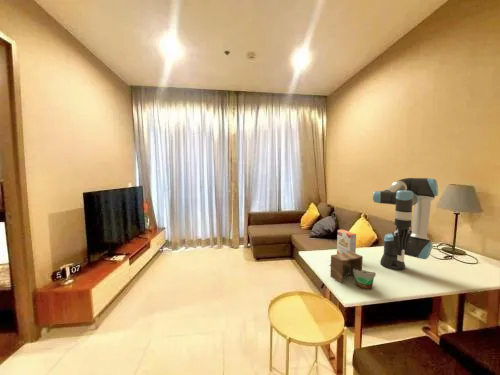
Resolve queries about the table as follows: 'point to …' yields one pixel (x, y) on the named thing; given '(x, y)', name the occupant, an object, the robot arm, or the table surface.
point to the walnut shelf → (345, 264)
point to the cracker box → (346, 241)
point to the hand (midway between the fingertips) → (400, 260)
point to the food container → (364, 279)
